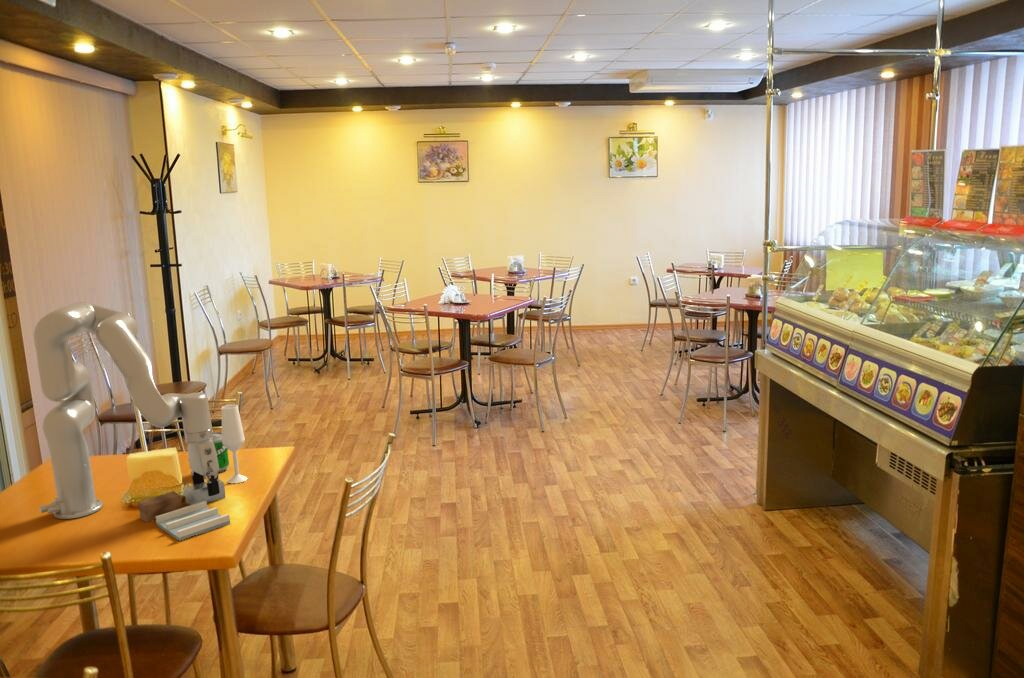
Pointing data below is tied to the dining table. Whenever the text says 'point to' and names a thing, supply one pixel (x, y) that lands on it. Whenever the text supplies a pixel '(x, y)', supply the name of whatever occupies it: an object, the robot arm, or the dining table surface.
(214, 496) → the grey metal bar
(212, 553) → the dining table surface
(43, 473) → the dining table surface
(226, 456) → the soda can
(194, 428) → the robot arm
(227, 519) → the rack
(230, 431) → the champagne flute
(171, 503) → the walnut bar
